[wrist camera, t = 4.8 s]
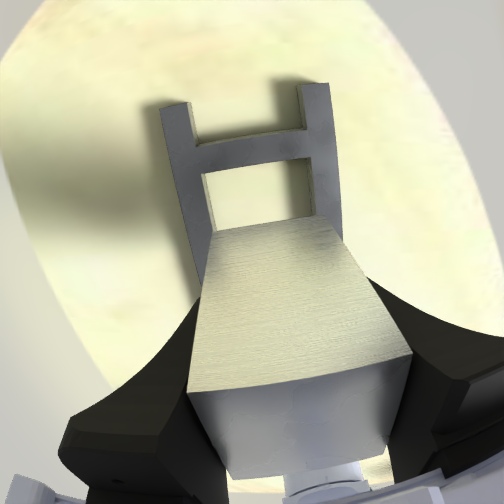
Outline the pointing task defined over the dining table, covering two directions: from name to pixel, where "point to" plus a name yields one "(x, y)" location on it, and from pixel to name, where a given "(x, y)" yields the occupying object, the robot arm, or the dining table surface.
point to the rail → (253, 162)
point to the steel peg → (293, 352)
